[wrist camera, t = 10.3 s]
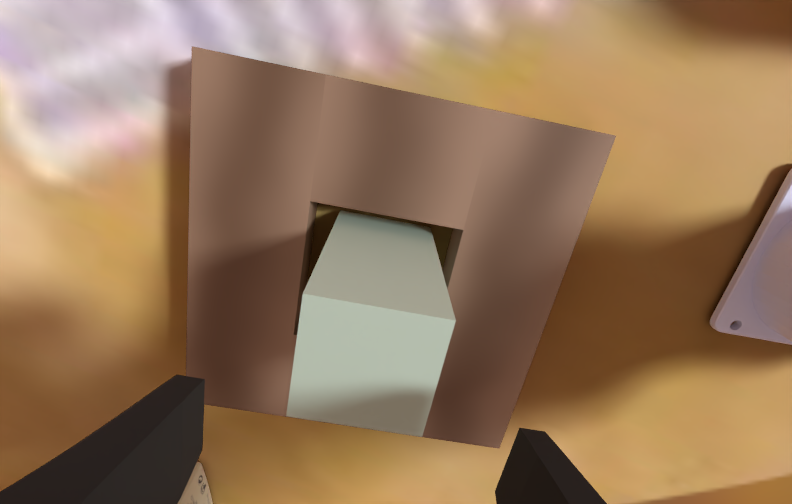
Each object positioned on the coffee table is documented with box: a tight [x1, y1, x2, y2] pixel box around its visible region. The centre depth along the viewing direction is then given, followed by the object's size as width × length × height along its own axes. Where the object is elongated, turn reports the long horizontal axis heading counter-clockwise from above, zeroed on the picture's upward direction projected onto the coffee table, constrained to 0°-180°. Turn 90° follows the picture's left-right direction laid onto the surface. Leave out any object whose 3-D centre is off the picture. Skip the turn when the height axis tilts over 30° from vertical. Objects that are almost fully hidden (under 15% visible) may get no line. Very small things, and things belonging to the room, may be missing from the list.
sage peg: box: [286, 210, 456, 437], centre depth 15 cm, size 4×4×8 cm
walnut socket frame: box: [186, 47, 616, 448], centre depth 18 cm, size 15×15×2 cm
